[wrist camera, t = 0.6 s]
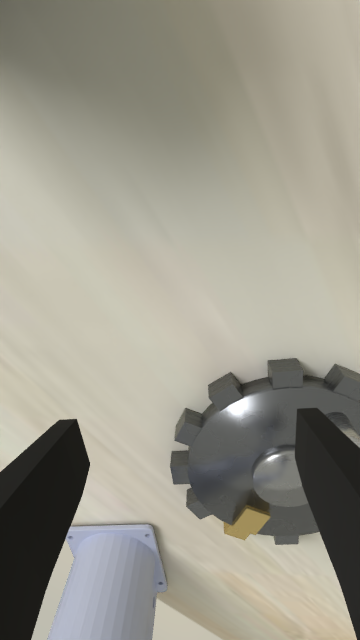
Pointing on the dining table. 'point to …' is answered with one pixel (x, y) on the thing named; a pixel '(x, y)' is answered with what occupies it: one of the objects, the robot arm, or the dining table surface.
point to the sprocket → (259, 448)
